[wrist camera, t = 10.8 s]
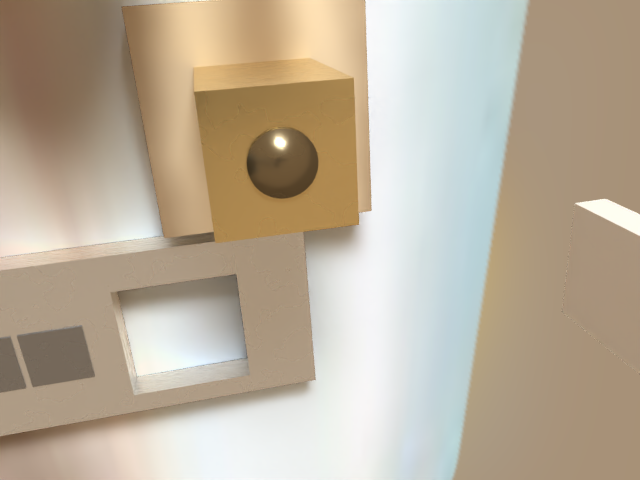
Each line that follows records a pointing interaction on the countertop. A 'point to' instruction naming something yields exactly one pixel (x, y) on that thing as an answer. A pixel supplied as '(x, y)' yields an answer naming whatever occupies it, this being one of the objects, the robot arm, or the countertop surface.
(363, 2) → the pedestal
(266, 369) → the beige panel with cutout
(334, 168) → the cube with dome knob
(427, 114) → the countertop surface
